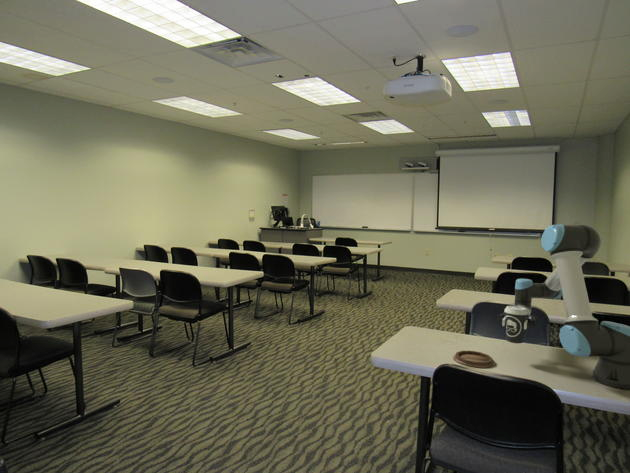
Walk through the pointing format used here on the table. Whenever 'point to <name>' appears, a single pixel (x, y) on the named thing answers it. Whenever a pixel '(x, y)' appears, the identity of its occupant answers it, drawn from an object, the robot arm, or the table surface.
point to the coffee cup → (515, 323)
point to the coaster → (474, 359)
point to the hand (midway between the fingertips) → (514, 324)
